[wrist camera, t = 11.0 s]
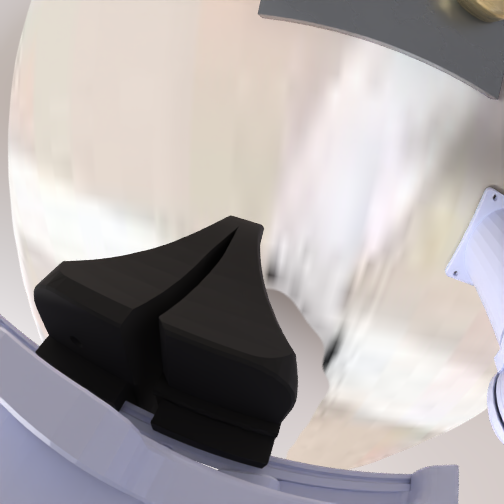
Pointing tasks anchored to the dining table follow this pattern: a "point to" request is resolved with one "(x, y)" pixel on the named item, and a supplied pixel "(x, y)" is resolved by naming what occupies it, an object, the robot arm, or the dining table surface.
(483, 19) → the knob
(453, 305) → the dining table surface
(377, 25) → the plate
